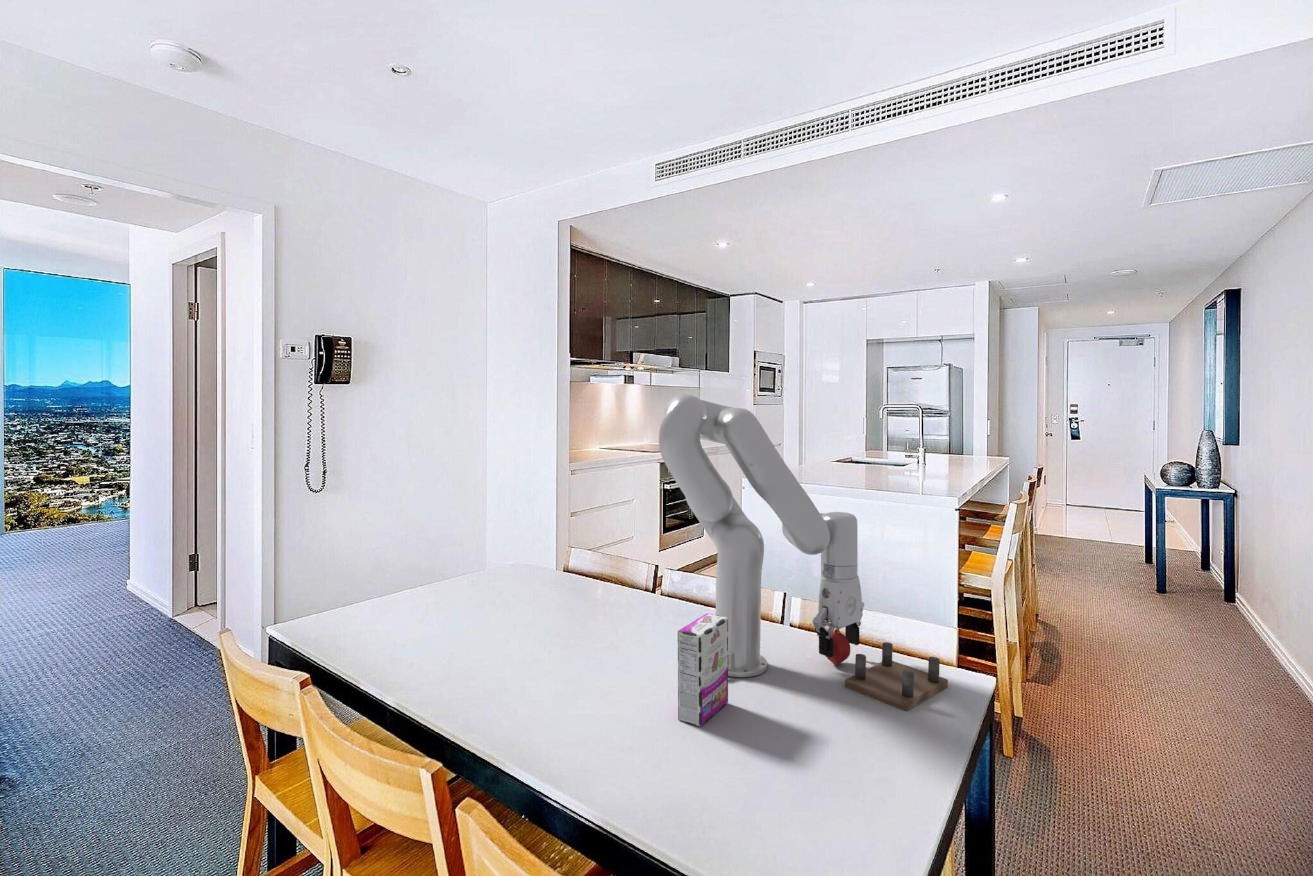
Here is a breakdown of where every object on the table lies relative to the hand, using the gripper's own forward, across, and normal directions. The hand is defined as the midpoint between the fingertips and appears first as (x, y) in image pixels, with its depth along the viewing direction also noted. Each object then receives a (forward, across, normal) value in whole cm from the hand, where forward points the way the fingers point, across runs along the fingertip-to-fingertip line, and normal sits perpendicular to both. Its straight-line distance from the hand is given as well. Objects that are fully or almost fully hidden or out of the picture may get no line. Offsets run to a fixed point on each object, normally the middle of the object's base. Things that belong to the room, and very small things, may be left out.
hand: (839, 649), depth 138 cm
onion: (+4, -1, 0) cm, 4 cm away
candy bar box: (+3, -38, +4) cm, 38 cm away
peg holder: (+4, -1, -14) cm, 14 cm away
